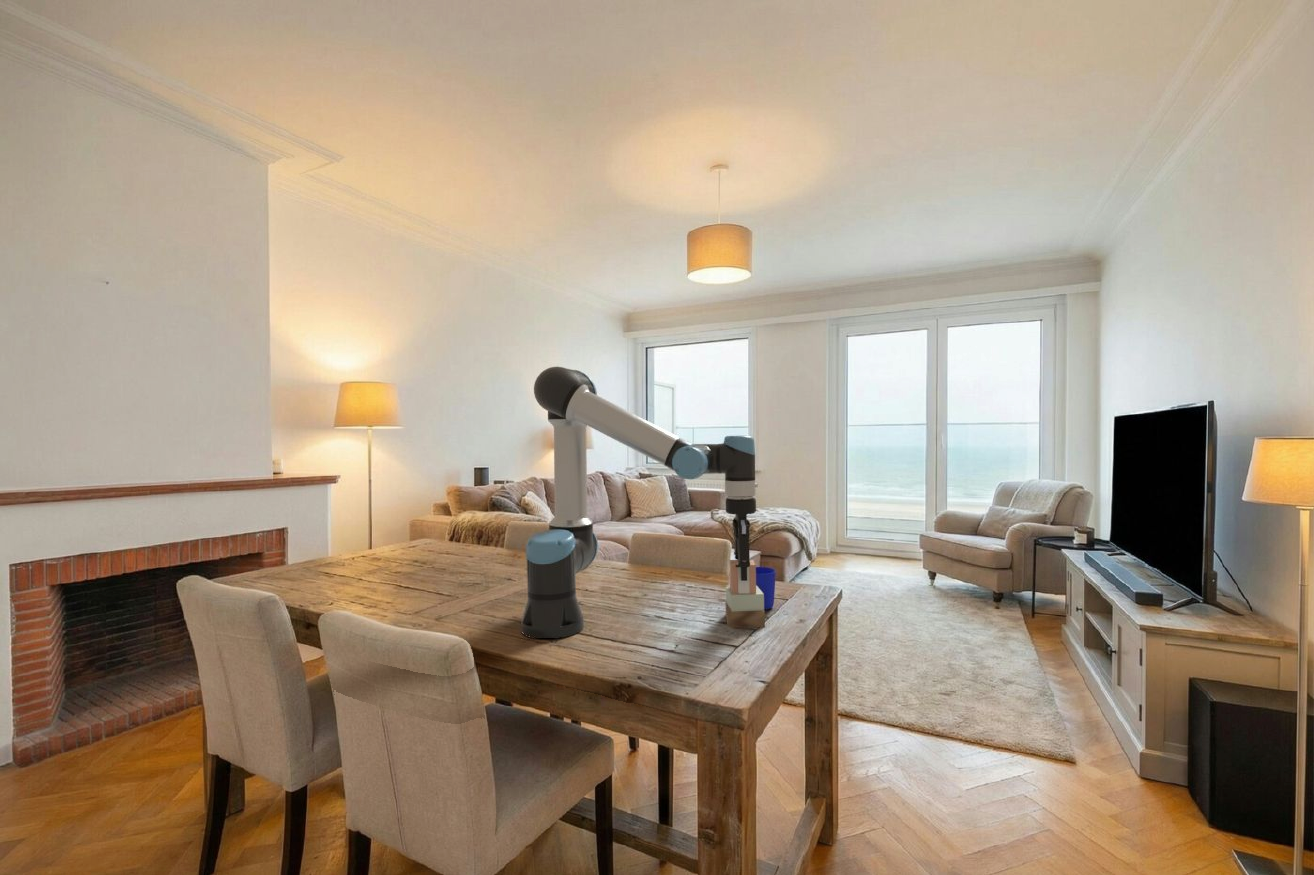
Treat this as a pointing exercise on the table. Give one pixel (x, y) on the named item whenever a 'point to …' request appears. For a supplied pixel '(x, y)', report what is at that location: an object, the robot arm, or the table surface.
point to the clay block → (734, 577)
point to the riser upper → (745, 601)
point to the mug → (766, 584)
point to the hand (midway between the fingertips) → (742, 589)
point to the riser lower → (745, 618)
